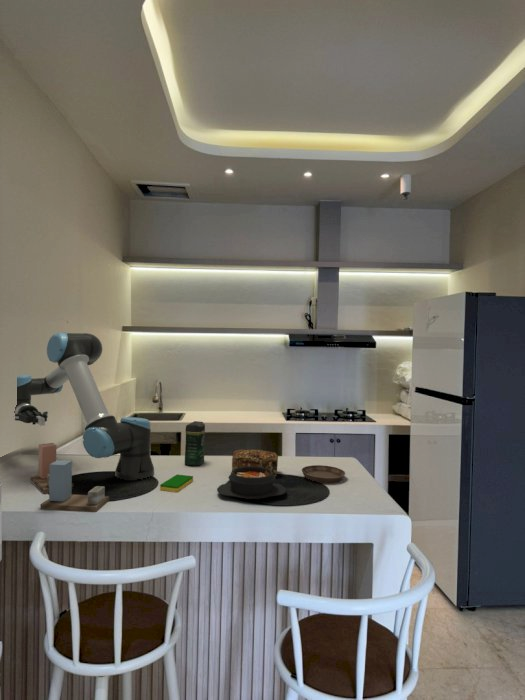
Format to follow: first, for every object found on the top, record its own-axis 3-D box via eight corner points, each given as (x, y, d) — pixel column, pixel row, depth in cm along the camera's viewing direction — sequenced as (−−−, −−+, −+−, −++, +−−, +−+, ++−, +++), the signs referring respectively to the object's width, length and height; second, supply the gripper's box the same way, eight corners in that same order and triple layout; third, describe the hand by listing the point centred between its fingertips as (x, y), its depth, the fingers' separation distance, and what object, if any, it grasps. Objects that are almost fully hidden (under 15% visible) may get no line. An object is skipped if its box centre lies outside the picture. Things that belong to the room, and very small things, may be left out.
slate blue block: (49, 500, 149) (49, 464, 149) (57, 495, 154) (57, 460, 154) (63, 501, 149) (64, 465, 149) (71, 496, 154) (71, 460, 154)
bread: (231, 477, 185) (231, 452, 185) (234, 469, 196) (234, 446, 196) (277, 479, 184) (277, 454, 184) (277, 471, 195) (278, 448, 194)
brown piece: (30, 480, 175) (30, 466, 175) (57, 475, 181) (57, 462, 181) (44, 493, 161) (44, 478, 161) (73, 488, 167) (73, 473, 167)
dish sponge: (159, 491, 168) (159, 484, 167) (176, 480, 181) (176, 474, 181) (177, 493, 166) (177, 486, 166) (193, 482, 179) (193, 475, 179)
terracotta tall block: (38, 475, 175) (38, 444, 175) (52, 473, 178) (52, 442, 178) (42, 478, 171) (42, 447, 171) (56, 476, 175) (56, 445, 174)
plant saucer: (341, 472, 196) (341, 465, 196) (348, 485, 178) (348, 478, 178) (300, 471, 196) (300, 464, 196) (303, 484, 178) (303, 476, 178)
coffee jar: (199, 467, 198) (200, 424, 197) (182, 465, 199) (183, 423, 198) (206, 461, 207) (207, 420, 207) (189, 460, 209) (190, 419, 208)
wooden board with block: (40, 508, 147) (40, 491, 147) (56, 497, 157) (56, 482, 157) (96, 511, 146) (96, 494, 146) (109, 500, 156) (109, 484, 155)
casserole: (282, 486, 175) (283, 464, 175) (289, 503, 157) (290, 479, 157) (217, 486, 173) (217, 464, 173) (216, 504, 155) (217, 479, 154)
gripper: (43, 420, 202) (59, 429, 184) (9, 423, 193) (24, 433, 175) (43, 403, 201) (60, 411, 184) (10, 405, 193) (24, 414, 175)
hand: (42, 422), depth 179 cm, fingers closed
